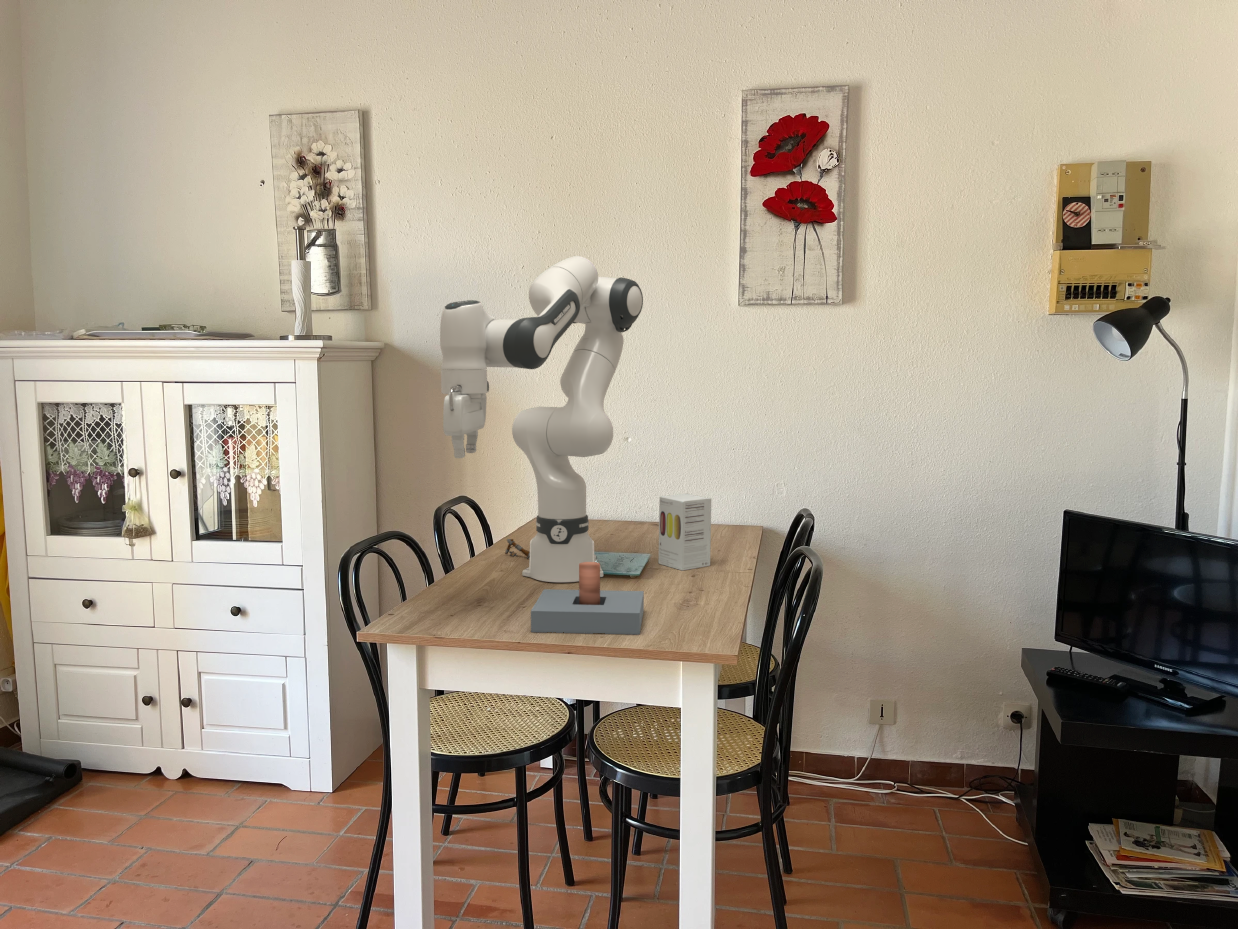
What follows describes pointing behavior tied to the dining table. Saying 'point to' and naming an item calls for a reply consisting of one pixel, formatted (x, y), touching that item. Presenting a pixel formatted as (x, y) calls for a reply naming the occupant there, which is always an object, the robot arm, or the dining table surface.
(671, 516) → the supplement box
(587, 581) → the pin
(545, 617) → the socket block
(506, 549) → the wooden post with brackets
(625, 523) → the dining table surface
